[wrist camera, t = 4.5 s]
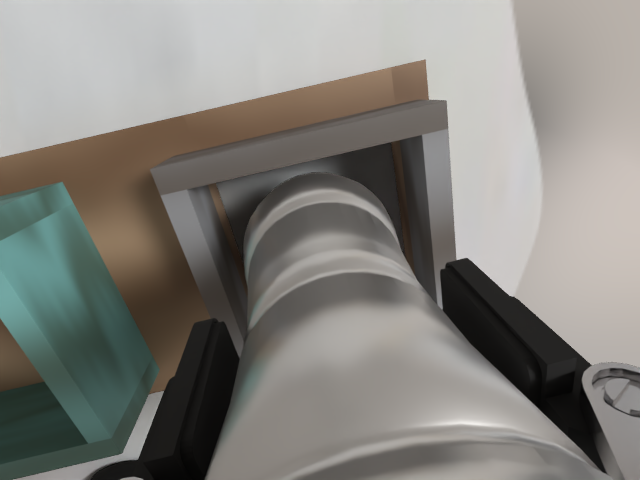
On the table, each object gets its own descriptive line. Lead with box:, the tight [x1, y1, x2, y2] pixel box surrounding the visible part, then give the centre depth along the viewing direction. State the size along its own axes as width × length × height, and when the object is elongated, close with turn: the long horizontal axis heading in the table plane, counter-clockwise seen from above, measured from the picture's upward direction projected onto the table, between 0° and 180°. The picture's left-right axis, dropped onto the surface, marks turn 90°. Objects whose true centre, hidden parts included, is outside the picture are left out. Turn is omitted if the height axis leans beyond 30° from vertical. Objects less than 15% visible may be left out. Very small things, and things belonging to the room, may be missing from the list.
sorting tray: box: [0, 60, 456, 480], centre depth 16 cm, size 14×28×6 cm, turn 102°
